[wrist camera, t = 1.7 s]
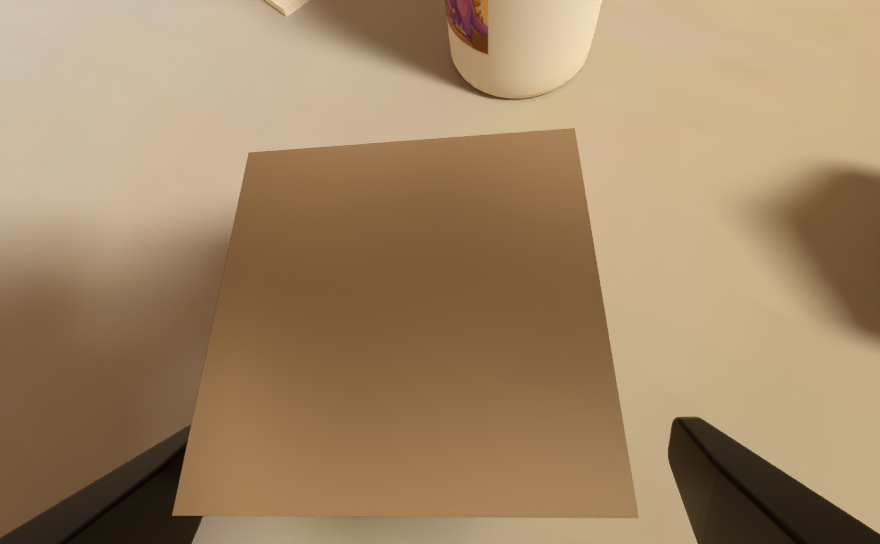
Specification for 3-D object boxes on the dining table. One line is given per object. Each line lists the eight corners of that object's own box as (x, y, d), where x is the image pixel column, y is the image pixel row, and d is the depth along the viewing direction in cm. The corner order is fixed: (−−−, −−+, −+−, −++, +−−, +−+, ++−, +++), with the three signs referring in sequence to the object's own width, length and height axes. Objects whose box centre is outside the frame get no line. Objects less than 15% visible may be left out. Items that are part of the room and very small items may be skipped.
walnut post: (529, 478, 16) (638, 517, 4) (397, 478, 17) (172, 516, 5) (519, 345, 18) (574, 127, 6) (401, 349, 19) (248, 152, 7)
